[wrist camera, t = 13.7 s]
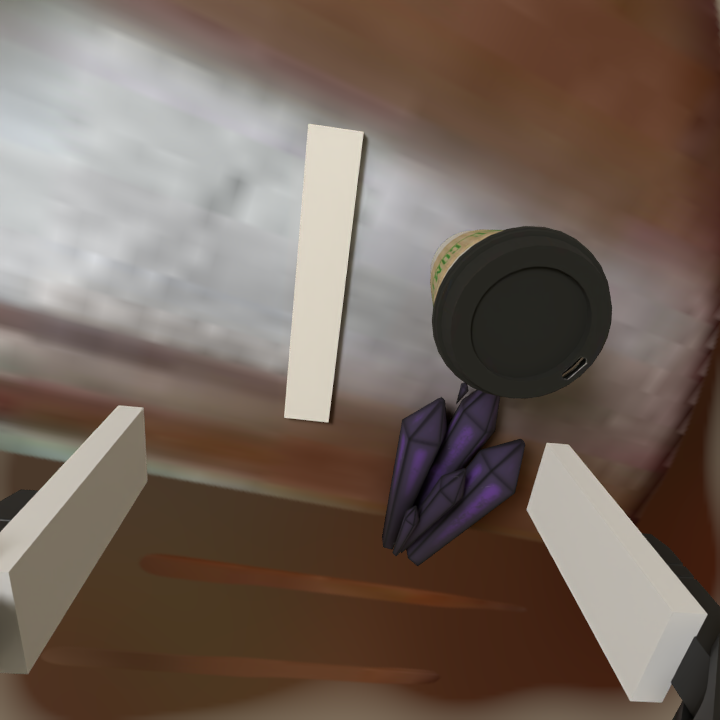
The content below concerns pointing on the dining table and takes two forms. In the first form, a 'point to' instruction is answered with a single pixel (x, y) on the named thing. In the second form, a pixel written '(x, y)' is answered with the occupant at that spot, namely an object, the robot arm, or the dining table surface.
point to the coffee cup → (518, 309)
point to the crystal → (447, 475)
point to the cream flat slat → (321, 268)
